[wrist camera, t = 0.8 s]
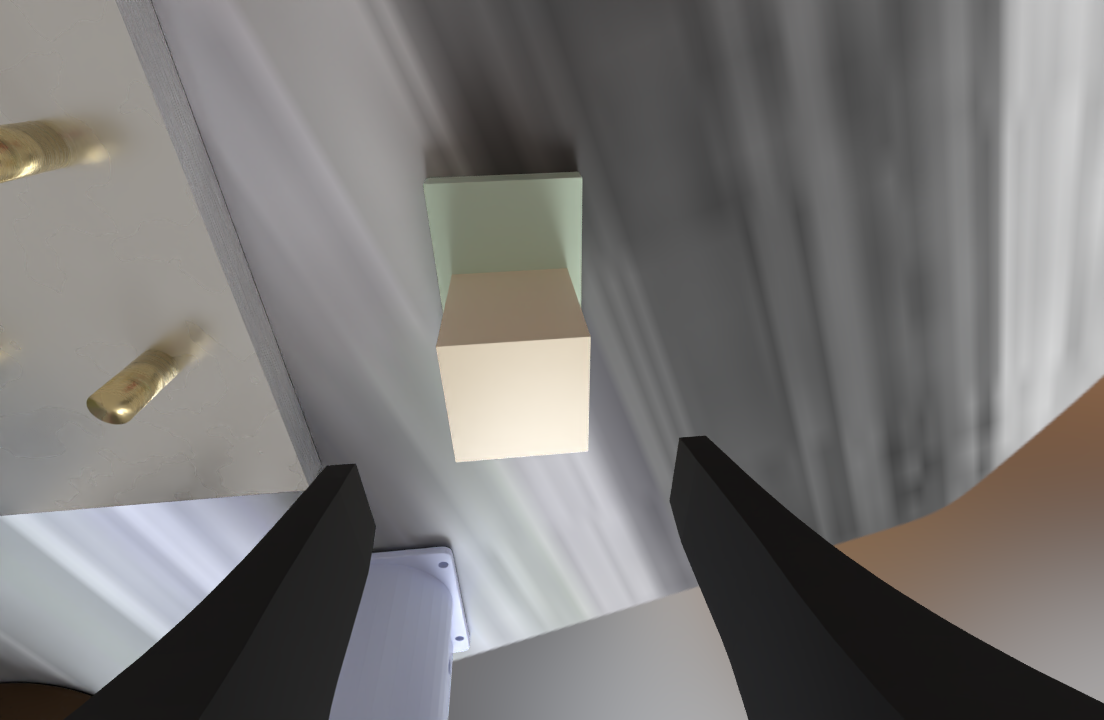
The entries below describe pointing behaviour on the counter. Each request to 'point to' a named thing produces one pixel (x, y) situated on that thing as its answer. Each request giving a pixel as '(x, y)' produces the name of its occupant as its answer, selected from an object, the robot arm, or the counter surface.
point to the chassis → (124, 282)
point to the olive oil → (38, 701)
